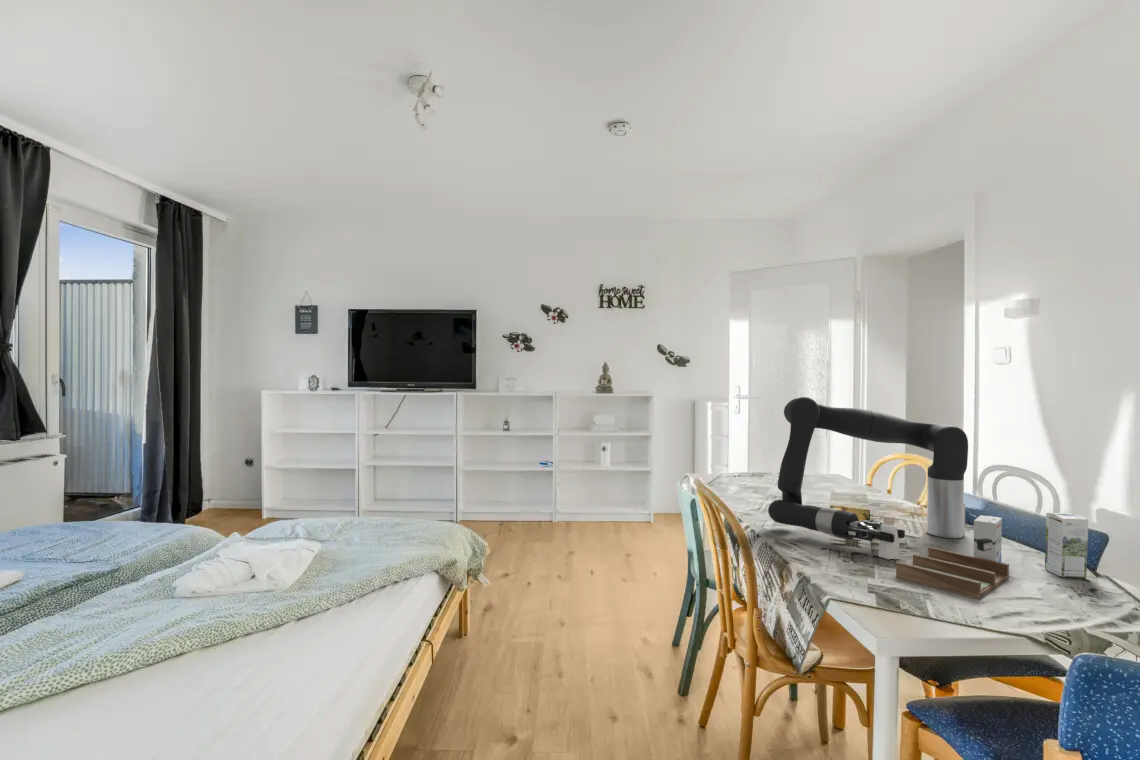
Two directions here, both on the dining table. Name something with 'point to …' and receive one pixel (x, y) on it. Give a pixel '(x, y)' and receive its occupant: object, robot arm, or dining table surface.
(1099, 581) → the dining table surface
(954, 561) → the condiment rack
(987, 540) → the ink box
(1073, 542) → the syrup box
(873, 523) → the robot arm
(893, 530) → the salt shaker
